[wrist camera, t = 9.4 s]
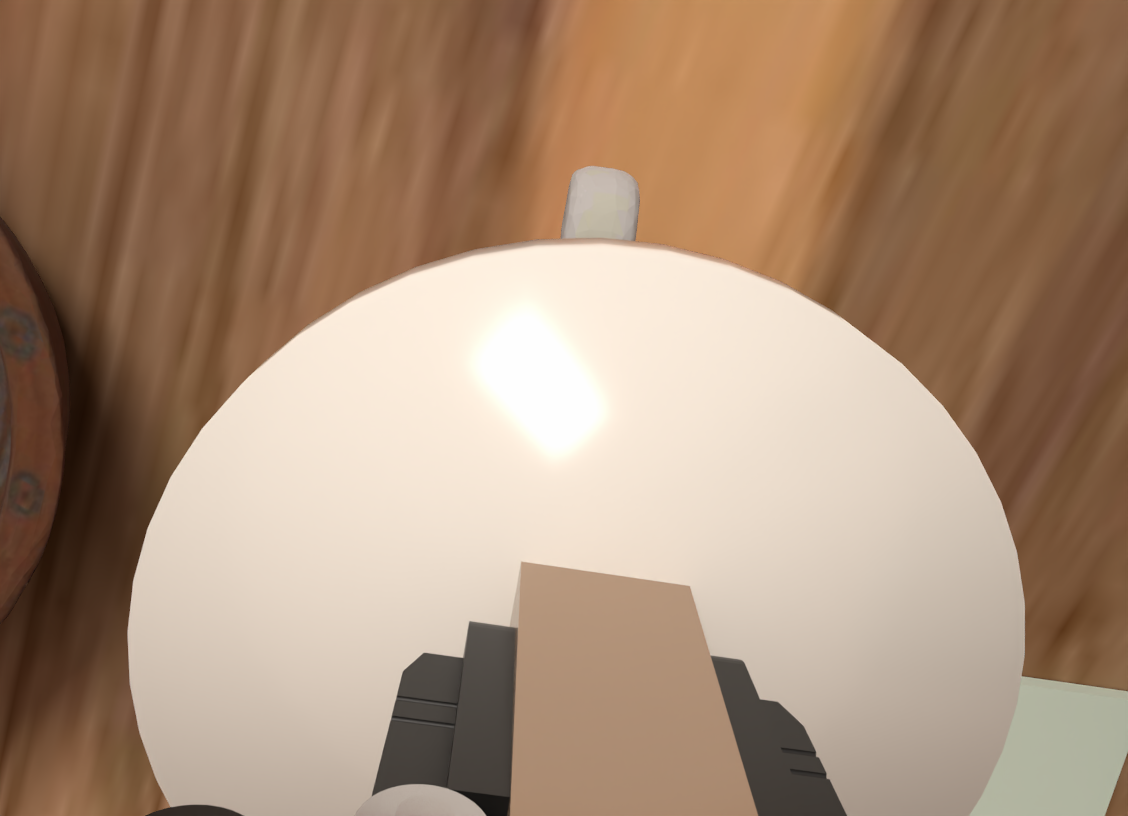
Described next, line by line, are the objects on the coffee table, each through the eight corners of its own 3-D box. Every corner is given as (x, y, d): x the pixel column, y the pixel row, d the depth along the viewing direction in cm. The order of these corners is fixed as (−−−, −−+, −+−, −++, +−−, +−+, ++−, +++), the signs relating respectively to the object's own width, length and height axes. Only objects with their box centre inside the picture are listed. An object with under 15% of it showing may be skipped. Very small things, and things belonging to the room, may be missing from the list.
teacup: (640, 660, 31) (676, 828, 23) (315, 554, 29) (237, 695, 22) (816, 251, 27) (929, 287, 20) (462, 114, 26) (433, 93, 18)
